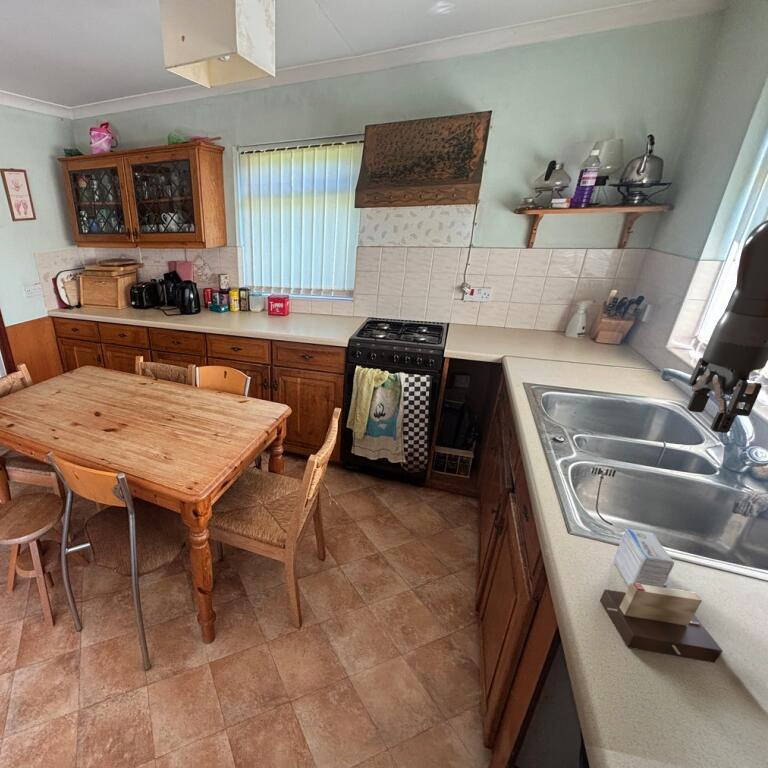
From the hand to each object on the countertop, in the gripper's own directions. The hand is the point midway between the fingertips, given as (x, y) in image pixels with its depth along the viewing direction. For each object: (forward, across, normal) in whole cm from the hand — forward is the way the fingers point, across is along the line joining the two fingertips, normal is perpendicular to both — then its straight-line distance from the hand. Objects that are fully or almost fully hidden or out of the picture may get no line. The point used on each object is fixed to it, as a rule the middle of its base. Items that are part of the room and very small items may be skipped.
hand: (705, 420), depth 78 cm
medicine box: (+30, -13, +7) cm, 33 cm away
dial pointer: (+26, -25, +9) cm, 38 cm away
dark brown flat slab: (+30, -25, +8) cm, 40 cm away
